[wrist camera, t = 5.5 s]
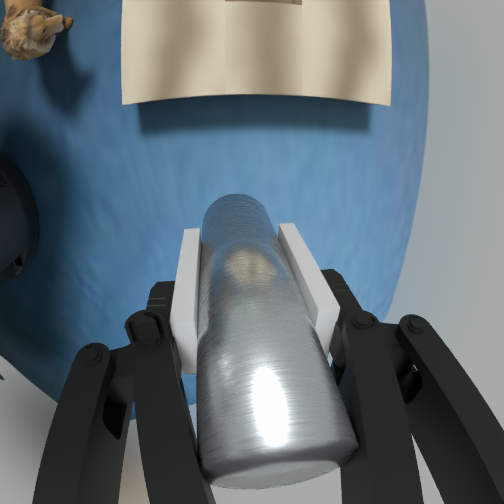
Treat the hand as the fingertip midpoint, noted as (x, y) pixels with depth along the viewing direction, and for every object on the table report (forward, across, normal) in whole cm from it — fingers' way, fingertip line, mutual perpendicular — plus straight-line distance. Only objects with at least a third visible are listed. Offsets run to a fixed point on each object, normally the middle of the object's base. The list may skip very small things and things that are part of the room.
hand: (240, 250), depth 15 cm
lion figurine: (+12, -16, +19) cm, 28 cm away
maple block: (+12, +2, +18) cm, 21 cm away
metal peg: (+3, 0, 0) cm, 3 cm away
